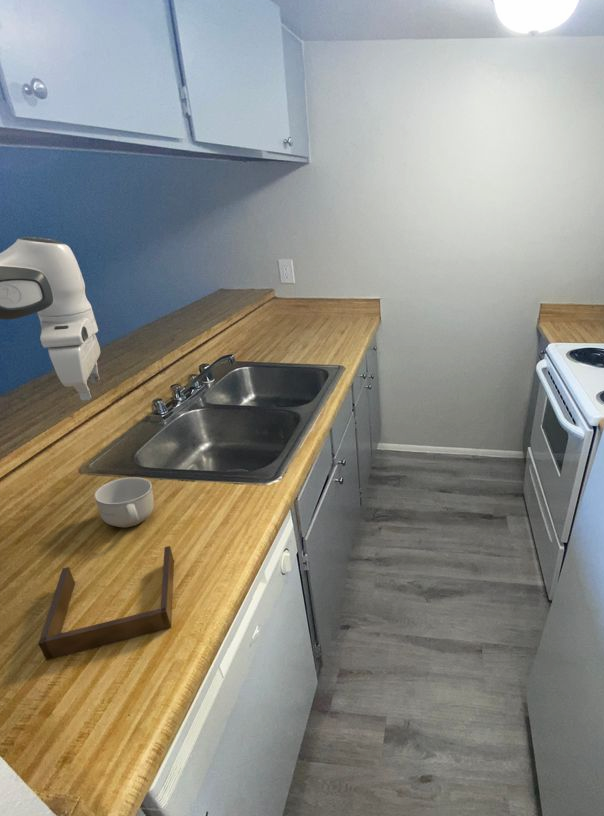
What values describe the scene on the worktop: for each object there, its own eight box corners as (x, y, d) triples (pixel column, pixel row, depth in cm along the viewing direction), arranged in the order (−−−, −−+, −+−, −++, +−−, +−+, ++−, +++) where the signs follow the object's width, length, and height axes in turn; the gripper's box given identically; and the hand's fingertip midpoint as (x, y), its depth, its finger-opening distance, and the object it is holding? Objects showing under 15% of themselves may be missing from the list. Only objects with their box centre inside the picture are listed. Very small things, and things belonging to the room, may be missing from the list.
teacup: (104, 510, 108) (95, 481, 104) (157, 499, 112) (150, 470, 109) (102, 549, 97) (91, 518, 93) (160, 534, 101) (152, 504, 98)
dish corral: (46, 660, 74) (38, 643, 73) (68, 583, 88) (62, 568, 86) (171, 627, 81) (166, 611, 79) (174, 561, 95) (170, 545, 93)
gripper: (63, 313, 100) (83, 374, 106) (37, 341, 83) (62, 412, 90) (97, 311, 102) (114, 371, 108) (78, 338, 85) (100, 407, 92)
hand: (91, 390), depth 99 cm, fingers open, 8 cm apart
